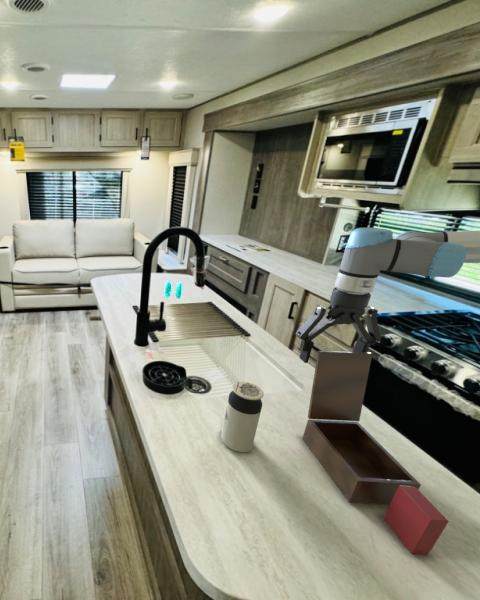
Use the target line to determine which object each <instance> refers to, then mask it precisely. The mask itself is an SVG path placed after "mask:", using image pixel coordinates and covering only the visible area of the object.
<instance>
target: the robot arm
mask: <svg viewBox="0 0 480 600" xmlns="http://www.w3.org/2000/svg"><path fill="white" fill-rule="evenodd" d="M393 235H394V233H393V231H392V230H390V229H386V228H378V227H357V228H355V229H353V230H352V231H351V232H350V234H349V237H348V240H347V242H346V245H345V249H344V252H343V255H342V259H341V262H340V266H339V270H338V273H337V274H336V279H335V281H334V288H333V289H332V292H331V295H330V298H329V302H330V303H329V306H328V307H324V306H321V305H319V304H317V305H316V306H315V307H314V310H313V312H312V313H311V315H309V317H308V318H307V319H306V320H305V321H304V322H303V324H302V325H301V326H300V327H299V328H298V329H297V330H296V332H295V334H294V335H295V336H296V337H297V338H298V339H299V340H301V341H300V345H299V349H300V350H301V351H300V354H299V359H300V360H301V361H302V362H303V363H304V364H308V363H309V360H310V357H311V353H312V349H313V346H314V341H313V340H314V339H315V338H317V337H318V336H320V335H321V334H322V333H323V332H325V331H326V330H328V329H329V328H330V327H334V326H336V325H349V326H350V325H352V327H353V328H354V330H355V331H356V332H357V334H358V336H359V337H360V338H357V339H356V342H355V345H354V347H353V350H352V352H369V349H370V346H374V345H375V344H376V342H378V343H379V342H381V340H382V337H381V332H380V328H379V322H378V318H377V317H378V313H379V311H378V309H376V308H374V307H372V306H370V305H369V304H370V303H369V302H370V300H371V297H372V294H371V293H373V292H374V288H375V285H376V283H377V280H378V278H379V274H380V272H381V271H385V272H391V273H392V272H393V273H400V274H408V275H416V276H425V277H429V278H433V277H434V278H452V277H455V276H456V275H457V274H458V273H459V272H460V270H461V269H462V267H463V266H464V264H480V230H463V231H461V230H459V231H439V232H438V231H435V232H434V231H433V232H423V231H419V230H409V231H404V232H402V233H399V234H397V235H396V236H395V237H393ZM363 316H364V321H365V325H366V327H365V326H364V323H363V321H362V319H360V318H361V317H363Z"/></svg>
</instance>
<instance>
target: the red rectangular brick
mask: <svg viewBox="0 0 480 600" xmlns="http://www.w3.org/2000/svg"><path fill="white" fill-rule="evenodd" d="M382 519H383V520H384V521H385V522H386V524H387V525H388V527H390V529H391V530H392V531H393V533H395V535H396V536H397V538H398V539H399V540H400V541H401V543H402V544H403V545H404V546H405V547H406V549H407V550H408V551H409V552H410V554H412V555H424V556H428V555H429V554H430V552H431V551H432V549H433V548H434V547H435V545H436V543H437V542H438V540H439V538H440V536H441V535H442V533H443V532H444V530H445V529H446V527H447V525H448V524H449V519H448V518H446V517H445V515H444V514H442V512H441V511H440V510H439V509H437V507H436V506H435V505H433V503H432V502H431V501H430V500H429V499H428V498H427V497H426V496H425V495H424V494H423V493H422V492H421V491H420V489H419V490H418V489H417V488H416V487H412V486H399V487H398V489H397V491H396V493H395V495H394V497H393V499H392V501H391V503H390V505H388V507H387V509H386V511H385V513H384V515H383V517H382Z"/></svg>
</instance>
